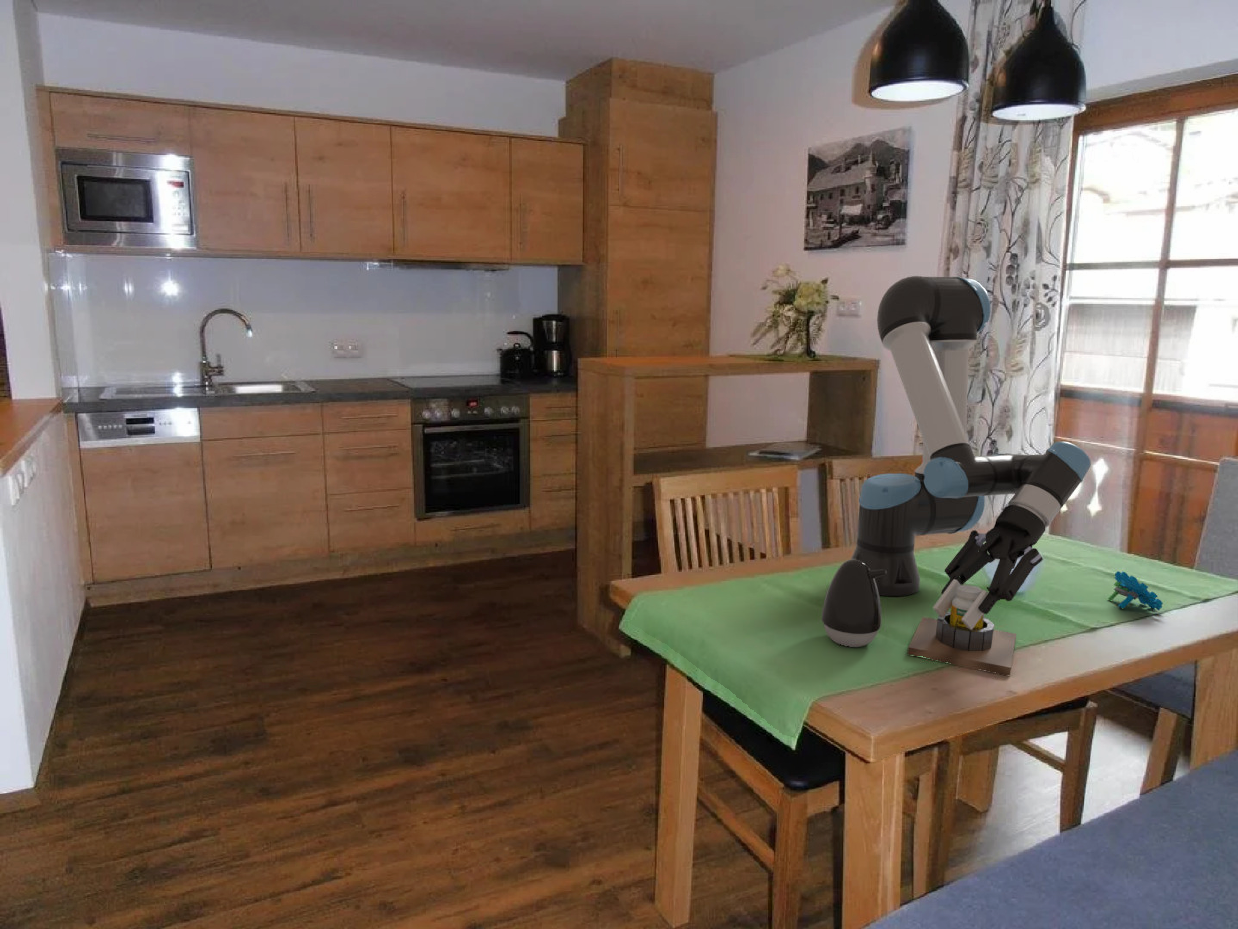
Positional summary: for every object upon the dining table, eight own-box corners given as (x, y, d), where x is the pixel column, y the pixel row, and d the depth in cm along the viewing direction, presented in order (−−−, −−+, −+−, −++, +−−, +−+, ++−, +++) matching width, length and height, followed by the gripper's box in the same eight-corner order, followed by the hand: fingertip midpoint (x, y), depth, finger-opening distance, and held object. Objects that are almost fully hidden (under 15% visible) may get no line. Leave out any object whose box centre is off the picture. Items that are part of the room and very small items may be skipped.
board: (907, 655, 144) (908, 647, 143) (921, 624, 157) (922, 616, 157) (1009, 676, 136) (1010, 667, 136) (1015, 641, 150) (1016, 633, 150)
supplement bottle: (979, 636, 148) (985, 585, 146) (982, 648, 143) (988, 595, 141) (946, 632, 150) (952, 581, 148) (948, 644, 145) (954, 591, 143)
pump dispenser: (871, 658, 142) (878, 573, 139) (812, 644, 147) (817, 562, 144) (887, 638, 151) (894, 557, 148) (830, 625, 156) (836, 547, 153)
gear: (1175, 610, 162) (1141, 574, 162) (1153, 631, 163) (1119, 595, 162) (1138, 597, 174) (1106, 563, 173) (1117, 617, 174) (1086, 583, 173)
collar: (932, 644, 145) (934, 625, 144) (939, 626, 153) (941, 608, 152) (989, 655, 141) (991, 635, 140) (993, 636, 148) (995, 618, 148)
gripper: (1083, 543, 142) (1006, 650, 137) (991, 517, 158) (920, 613, 154) (1066, 515, 138) (988, 625, 134) (974, 492, 154) (901, 589, 150)
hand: (952, 618), depth 144 cm, fingers open, 5 cm apart
